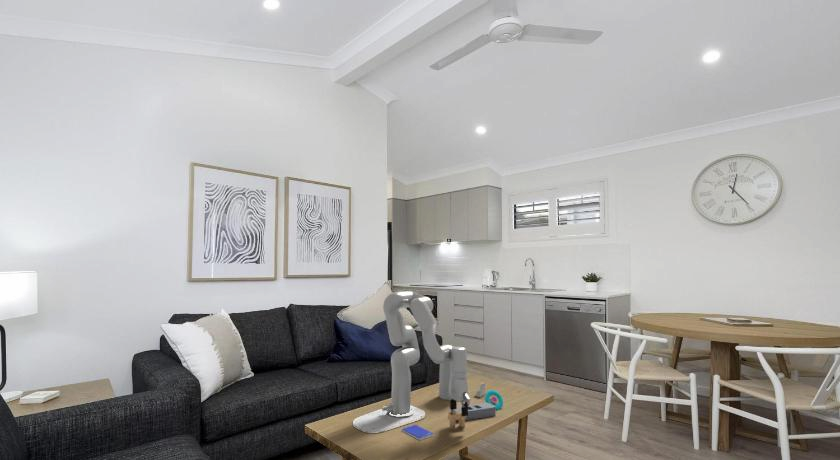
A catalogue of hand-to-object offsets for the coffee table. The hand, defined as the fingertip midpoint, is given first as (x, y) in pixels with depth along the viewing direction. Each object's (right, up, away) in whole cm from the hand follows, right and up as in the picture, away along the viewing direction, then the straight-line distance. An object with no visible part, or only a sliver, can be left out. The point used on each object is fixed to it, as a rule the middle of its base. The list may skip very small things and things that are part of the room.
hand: (458, 412), depth 194 cm
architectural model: (+17, -11, +47) cm, 51 cm away
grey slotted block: (+9, -8, +15) cm, 19 cm away
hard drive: (-19, -6, -8) cm, 22 cm away
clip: (-1, -7, 0) cm, 7 cm away
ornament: (+21, -10, +28) cm, 36 cm away
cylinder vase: (-1, -10, +42) cm, 43 cm away
